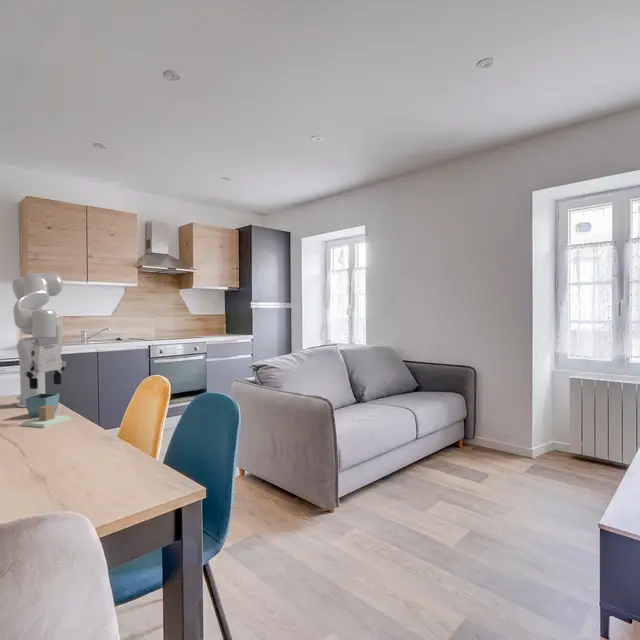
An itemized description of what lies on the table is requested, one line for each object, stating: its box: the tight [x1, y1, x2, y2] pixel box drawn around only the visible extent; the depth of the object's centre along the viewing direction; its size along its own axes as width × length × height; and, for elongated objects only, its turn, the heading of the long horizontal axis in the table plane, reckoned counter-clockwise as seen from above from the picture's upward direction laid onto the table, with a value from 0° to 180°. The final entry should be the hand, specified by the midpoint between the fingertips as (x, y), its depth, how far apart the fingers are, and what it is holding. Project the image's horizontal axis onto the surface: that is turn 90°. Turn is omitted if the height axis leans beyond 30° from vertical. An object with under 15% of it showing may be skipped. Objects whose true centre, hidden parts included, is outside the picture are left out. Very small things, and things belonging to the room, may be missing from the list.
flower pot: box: [25, 393, 60, 418], centre depth 167 cm, size 9×9×9 cm
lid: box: [21, 405, 72, 429], centre depth 156 cm, size 11×11×6 cm
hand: (46, 386), depth 155 cm, fingers open, 9 cm apart
